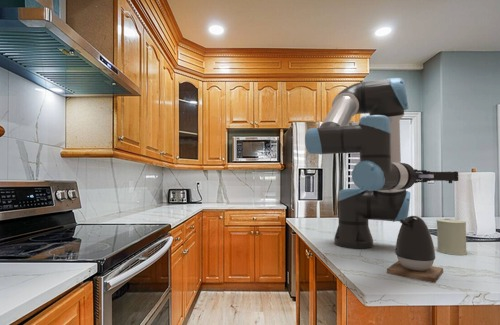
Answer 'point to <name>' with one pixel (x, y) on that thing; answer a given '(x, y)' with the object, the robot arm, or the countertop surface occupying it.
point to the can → (451, 236)
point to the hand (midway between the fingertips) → (432, 176)
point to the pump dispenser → (415, 245)
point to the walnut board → (416, 272)
